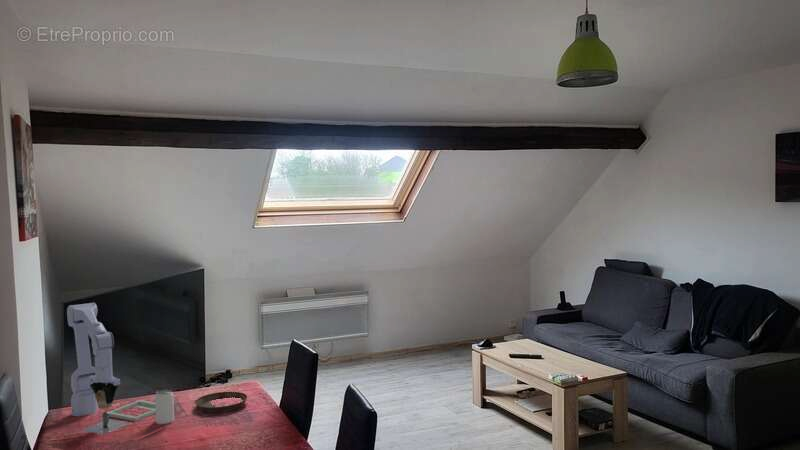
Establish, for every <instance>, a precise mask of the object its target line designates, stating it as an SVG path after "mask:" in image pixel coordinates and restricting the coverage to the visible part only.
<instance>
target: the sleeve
mask: <svg viewBox="0 0 800 450" xmlns="http://www.w3.org/2000/svg"><path fill="white" fill-rule="evenodd" d="M95 399H98V402H97V409H108V408H111V407H112V406H113V403H110V404H107V403H106V396H105V392H104V390H103V389H102V390H99V391H98V393H95Z"/></svg>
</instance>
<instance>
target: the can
mask: <svg viewBox="0 0 800 450" xmlns="http://www.w3.org/2000/svg"><path fill="white" fill-rule="evenodd" d="M154 403H155V411H156V413H155V423H156V424H158V425H163V424H164V425H165V424H166V425H167V426H168V425H171V424H173V423H174V421H175V406H174V393H173V390H172V389H169V388H167V389H159V390H157V391H156V393H155V396H154Z"/></svg>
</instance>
